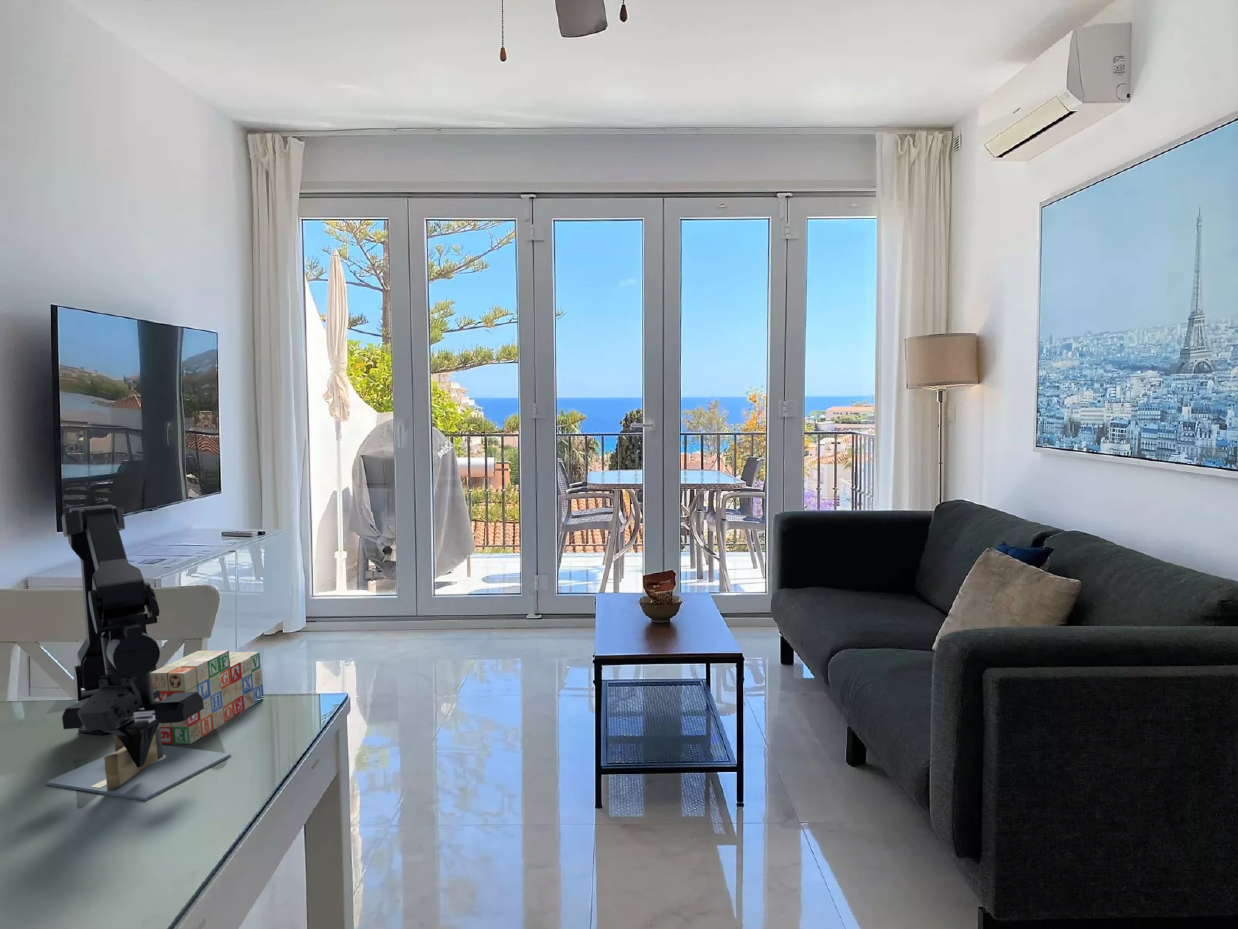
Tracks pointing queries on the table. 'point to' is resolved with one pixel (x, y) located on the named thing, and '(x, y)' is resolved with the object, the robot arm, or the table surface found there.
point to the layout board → (143, 773)
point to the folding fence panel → (129, 763)
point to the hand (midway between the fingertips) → (140, 766)
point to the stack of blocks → (209, 690)
